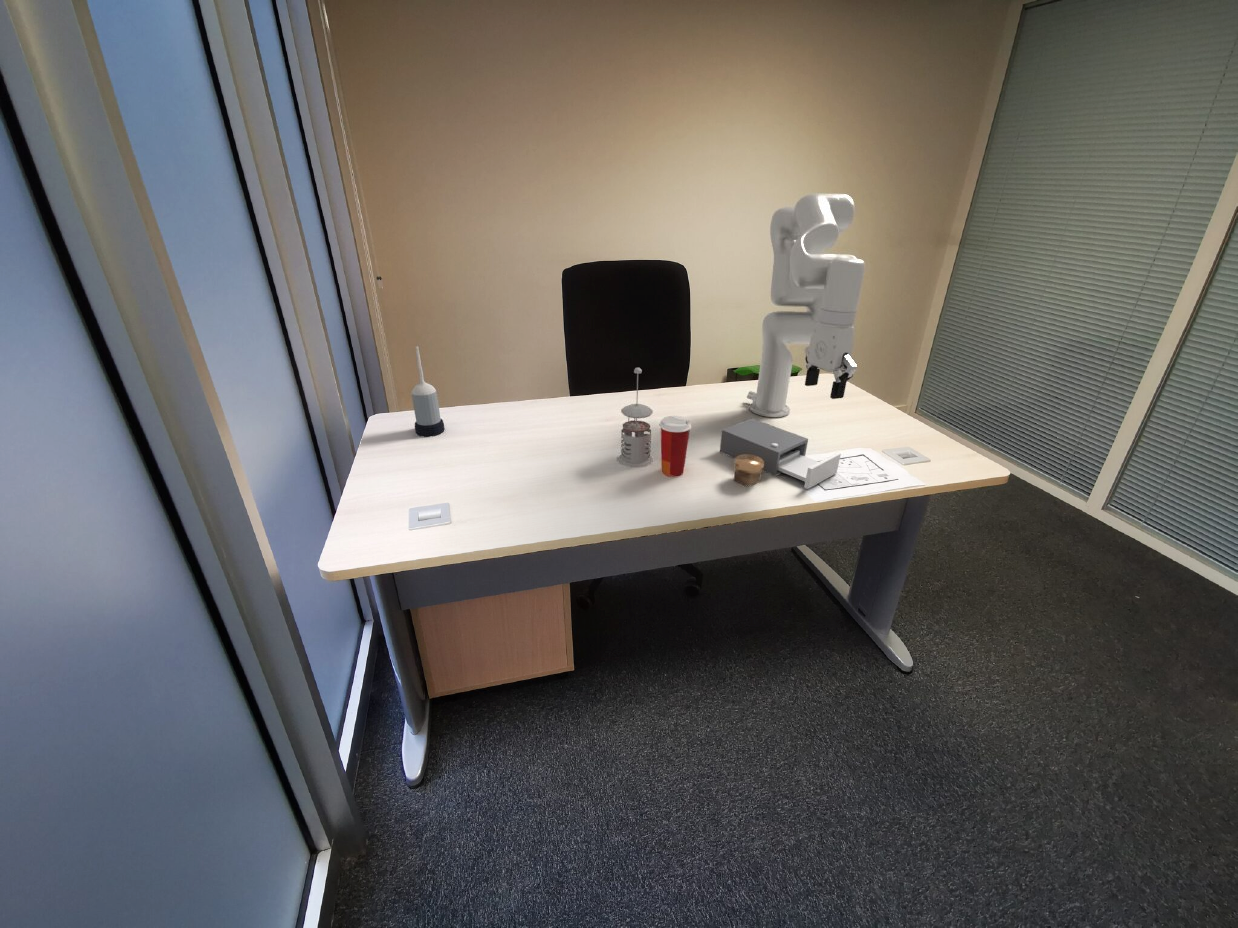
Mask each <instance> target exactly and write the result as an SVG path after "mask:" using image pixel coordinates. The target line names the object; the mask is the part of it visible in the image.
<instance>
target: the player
mask: <svg viewBox="0 0 1238 928" xmlns="http://www.w3.org/2000/svg"><path fill="white" fill-rule="evenodd" d="M808 442H809V438H807V437H804V436H801V435H799V434H797V433H793V432H790V431H789V430H788V431H787V430H785V429H783V428H780V427H778V426H774V425H771V424H768V423H766V422H764V421H763V422H762V421H760V420H757V419H755V418H750V419H747V420H744V421H741V422H739V423H736V424H734V425H731V426H729V427H726V428H724V429H722V430H721V437H720V446H719V452H720V453H722V454H725V455H726V456H729V457H731V458H734V459H735V458H736V457H737V456H739V455H744V454H748V455H755V456H758V457H760V458H762V459H763V460H764V468H763V472H765V473H768V474H770V475H773V476H774V477H776V476H778V475H780V474H782V473H783V472H781V471H779V470H778V465H779V459H780V455H781V454H783V453H785V452H787V451H789V450H790V451H793V452H794V451H796V450H799V451H800V455H803V456H805V457H806V454H807V449H808V444H809V443H808Z"/></svg>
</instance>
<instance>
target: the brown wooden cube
mask: <svg viewBox="0 0 1238 928" xmlns="http://www.w3.org/2000/svg"><path fill="white" fill-rule="evenodd" d="M761 475H762V473H760V474H756V475H747V474H743V473H740V472H738V471H736V470H735V469H734V476H733V480H734V481H735V482H738V483H740V484H741V485H744V486H746V487H748V488H749V487H751V486H754V485H756V484H757V483H759V482H761Z"/></svg>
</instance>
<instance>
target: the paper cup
mask: <svg viewBox="0 0 1238 928" xmlns="http://www.w3.org/2000/svg"><path fill="white" fill-rule="evenodd" d="M658 426H659V428H660V463H661V467H660V468H661V469H660V470H661V473H662V474H663V475H664V476H666V477H668V478H669V477H671V478H678V477H681V476H682V475H684V472H685V466H686V465H685V464H686V458H687V451H688V443H689V438H690V431H691V428H692V425H691V422H690V420H689V419H688V417H687V418H686V417H684V416H680V415H669V416H668V415H667V416H666V417H664V418H662V419H661V421H660V422H659V424H658Z"/></svg>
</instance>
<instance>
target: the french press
mask: <svg viewBox="0 0 1238 928" xmlns="http://www.w3.org/2000/svg"><path fill="white" fill-rule="evenodd" d="M642 371H643V370H642V369H641V368H640V367H635V368H634V370H633V373H634V374H636V403H631V404H629V405H628V404H627V405H626V406H624V407H622V408H621V409H620V412H621V414H622V415H623V416H625V417H627V419H628V420H627V421H625V422H624V423H622V428H621V429H620V430H621V432H620V434H621V435H620V436H621V437H620V441H621V442H620V454H619V455H618V456H617V459H616V460H617V462H618V463H619V464H620V465H622V466H623V467H628V468H633V469H634V468H636V469H637V468H638V469H639V468H644V467H648V466H650V465H652V464H653V463H654V461H655V459H654V457H653V455H651V444H652V441H651V440H652V430H651V429H650V428H651V424H649V423H648V422H647V421H644V420H638V419H645V418H648V417H650V416H651V415H652V414H653V413H654V410H653V409H652V408H651V407H649V406H647V405H645V404H642V403H638V398H639V397H638V396H639V395H638V394H639V390H638V389H639V374H642ZM630 418H631V419H633V420H630ZM645 432H647V433H645ZM633 433H634V436H633ZM648 433H649V434H648Z"/></svg>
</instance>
